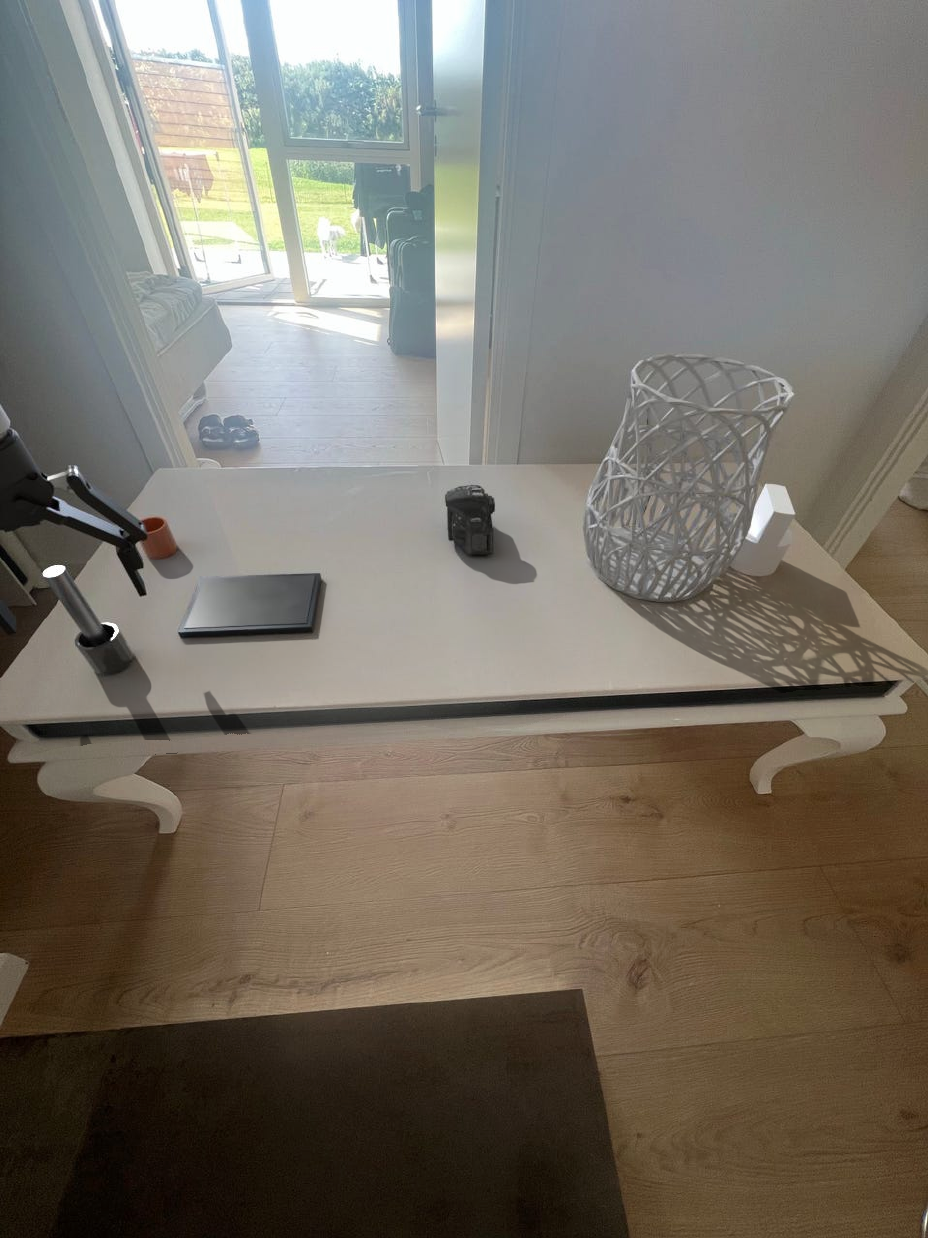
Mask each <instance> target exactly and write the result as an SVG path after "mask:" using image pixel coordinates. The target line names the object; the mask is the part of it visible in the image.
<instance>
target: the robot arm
mask: <svg viewBox="0 0 928 1238" xmlns="http://www.w3.org/2000/svg"><path fill="white" fill-rule="evenodd" d="M56 489H60V490H62V491H65V492H66V493H67V494H69V495H76V496H77V497H78V499H80V500H81V501H82V502H83V503H85V504H86V505H87V506H89V507H90V508H91V509H92V510H94V511H96V512H97V513H99V514H100V515H102V516H103V517H104V518H106V519H107V520H109V521H110V522H111V523H110V522H108V521H106V520H104V519H101V518H99V517H96V516H95V515H92V514H90V513H88V512H85V511H82V510H81V509H78V508H76V507H74V506H71V505H70V504H68V503H67V502H66V501H65V500H63V499H60V498H58V497H56V496H54V494H55V490H56ZM43 521H47V522H50V523H51V524H54V525H57V526H65V527H68V528H70V529H73V530H75V531H77V532H79V533H82V534H85V535H87V536H90V537H92V538H94V539H97V540H99V541H102V542H104V543H107V544H109V545H111V546H114V547H115V553H116V556H117V558H118V559H119V561H120V563H121V565H122V567H123V568H124V571H125V572H126V574H127V576H128V578H129V579H130V581H131V583H132V585H133V587H134V588H135V590H136V592H137V594H138V596H139V597H140V598H141V597H145V596H147V594H148V593H147V590H146V589H147V588H146V585H145V582H144V580H143V578H142V576H141V574H140V571H139V570H143V569H144V566H145V565H144V564H145V563H144V560H143V557H142V554H141V553H140V551H139V549H138V547H137V544H138V543H140V542H139V541H145V540H146V539H147V537H148V536H147V532H146V528H145V524H144V523H143V522H141V521H140V519H139V518H137V516H135V515H134V514H132V513H131V512H130V511H128V510H127V509H125V508H124V507H123V506H121V505H120V504H119V503H117V502H116V501H115V500H114V499H112V498H111V497H109V496H108V495H106V494H105V493H104V492H103V491H101V490H100V489H98V488H97V487H96V486H94V485H93V484H92V483H90V482H89V481H88V479H87V478H86V476H85V475H84V473H83V472H82V471H81V469H80V468H79V467H78V466H77V465H74V464H68V465H67V466H66V467H65V471H62V472H59V473H55V474H52V475H48V474H45V473H44V472H43V471H42V470H41V469H40V468H39V467H38V465H37V463H36V462H35V459H33V456H32V455H31V453H30V451H29V450H28V449H27V447H26V445H25V443H24V441H23V440H22V438H21V437H20V435H19V433H18V432H17V431H16V430H15V429H13V428H11V420H10V418H9V416H8V415H7V413H6V411H5V410H4V408H3V407H2V404H0V531H4V533H9V532H13V531H16V530H18V529H20V528H23V527H25V528H26V527H35V526H40V525H42V522H43ZM0 628H1V629H2V630H3V631H4V632H5V634H6V635H7V636H12V635H14V634H17V617H16V615H14V613H13V612H12V610H10V609H9V607H8V606H7V605H6V604H5V602H4V601H3V599H2V598H0Z"/></svg>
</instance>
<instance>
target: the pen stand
mask: <svg viewBox="0 0 928 1238" xmlns="http://www.w3.org/2000/svg"><path fill="white" fill-rule="evenodd" d="M100 623H101V624H102V626H103V628H104V629H105V631H106V632H107V634H108V635H109V637H110V638H111V639H110V640H109V641H108V642H106V643H104V644H102V645H100V646H96V647H92V646H91V645H90V643H89V642H88V640H87V639H86V638H85V636H84V635H83V633H82V632H81V631H80V632H79V633H77V635H76V637H75V638H74V646H75V647H76V648H77V650H78V651H79V652H80V654H81V655H82V657H83V658H84V660H85V661H86V662H87V663H88V665H89V667H90V668H91V669H92V670H93V672H94V673H95V674H97V675H99V676H102V677H106V676H114V675H118V674H119V673H121V672H124V671H125V670H126V669H128V668H129V667H130V666H131V664H132V663H133V661H134V659H135V655H134V652H133V650H132V648H131V647H130V644H129V643H128V641H127V640H126V638H125V637H124V635H123V633H122V632H121V630H120V628H119V627H118V626H117V625H116V624H115V623H113V622H108V621H106V622H100Z"/></svg>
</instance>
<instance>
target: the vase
mask: <svg viewBox="0 0 928 1238" xmlns="http://www.w3.org/2000/svg"><path fill="white" fill-rule="evenodd" d="M685 359H688V360H695V361H693V362H689V361H688V360H685ZM662 360H663V361H662ZM654 361H662V362H661V363H660V364H657V363H655V362H654ZM674 361H675V362H676V363H679V364H681V365H682V366H684V367H682V368H681V369H679V370H678V371H677V372H675V373H674V374H673V375H671V376H669V375H668V374H667V372H666V371H665V370H664V369H663V368H664V367H665V366H667V365H669V364H671V363H672V362H674ZM708 363H709V364H711V365H712V366H714V367H715V368H717V369H718V370H719V371H718V372H716V373H714V374H713V375H710V376H708V377H707V378H705V379H703V377H702V376H701V375H700V374H699V373H698V371H697V370H696V369H695V367H698V366H702V365H704V364H708ZM721 363H723V364H727V365H732V366H736V367H732V368H728V369H725V367H724V366H723V365H722V364H721ZM647 366H650V367H652V368H654V369H652V370H651V371H650V372H649V373H648V374H647V375H646V377H645V378H644V380H643V379H642V377H641V376H640V375H641V374H642V373H643V371H644V370H645V369H646V367H647ZM688 371H689V373H690V374H692V376H693V377H694V378H695V379H696V380H697V382H698V384H697V385H696V386H695V387H694V388H692V389H691V390H690V391H689V392H687V393H686V394H685V395H683V396H682V397H681V398H680V399H679V397H678V393H677V391H676V389H675V388H676V387H675V385H674V381H675V380H677V379H678V378H679V377H681V376H682V375H683V374H684V373H686V372H688ZM743 371H746V372H747V373H748V375H749V376H750V377H751V378H752V379H753V381H751V382H749V383H746V384H744V385H742V386H740V387H738V386H737V384H736V381H735V380H734V378H733V375H732V373H737V372H743ZM657 373H659V375H660V376H661V377H662V378H663V379H664V381H665V382H664V383H663V384H662V385H661V386H660V387H659V388H658V390H656V389H654V388H653V387H650V385H648V383H649V382H650V381H651V380H652V379H653V378H654V377H655V375H656V374H657ZM757 373H759V374H760V375H763V376H765V377H767V378H763V379H761V378H760V377H759V375H758V374H757ZM723 375H725V378H726V379H727V382H728V384H729V385H730V387H731V389H732V391H730V392H729V393H728V394H727V395H725V396H724V397H723V398H721V399H720V400H718V402H716V403H715V404H713V400H712V399H711V395H710V393H709V391H708V388H707V385H706V384H707V383H709V382H711V381H713V380H715V379H717V378H719V377H722V376H723ZM770 383H771V384H772V383H773V384H774V387H775V389H776V392H777V394H776V395H774V396H772V397H771V398H768V399H766V398H765V392H764V384H770ZM667 387H668V388H669V390H670V393H671V396H672V397H670V396H668V395H666V394H664V393H663V392H664V391H665V389H666V388H667ZM755 387H757V390H758V394H759V400H760V403H759V404H758V405H757V406H756V407H754V408H753V409H752V410H751V409H743V405H742V401H741V397H740V393H741V392H743V391H746V390H749V389H751V388H755ZM700 388H701V391H702V393H703V396H704V399H705V402H706V404H707V406H706V405H702V404H699V403H695V402H692V401H687V400H688V399H689V398H690V397H691V396H693V394H695V393H696V392H697V391H698V390H700ZM782 388H783V389H784V390H785V392H783V389H782ZM637 389H638V390H637ZM649 394H650V395H651V397H650V395H649ZM641 395H642V397H643V402H642V403H641V404H639V405H638V400H639V398H640V396H641ZM734 396H735V397H734ZM732 397H734V399H735V403H736V409H735V408H722V407H721V406H722V405H724V404H725V403H726V402H727V401H729V400H730V399H731V398H732ZM794 397H795V393H794V387H793V386H792V385H791V384H790V383H789V382H788V381H787V380H786V379H785V378H782V377H779V376H777V375H775V374H774V373H773V372H771V371H768V370H766V369H764V368H762V367H760V366H757V365H750V364H745V363H743V362H741V361H739V360H735V359H731V358H725V357H721V356H712V357H711V356H708V355H704V354H703V353H681V354H678V355H672V354H659V355H653V356H651V357H649V358H647V359H641V360H638V362H637V363H636V364H635V366H634V367H633V368H632V370H631V373H630V387H629V391H628V393H627V398H626V402H625V403H626V404H625V408H624V413H623V419H622V420H621V423H620V425H619V427H618V430H617V432H616V433H615V436H614V438H613V440H612V443H611V444H610V447H609V449H608V451H607V453H606V455H605V456H604V458H603V460H602V461H601V464H600V466H599V468H598V470H597V472H596V474H595V477H594V479H593V481H592V483H591V485H590V488H589V490H588V495H587V499H586V502H585V504H584V505H585V506H584V511H583V518H582V523H583V524H582V532H583V539H584V543H585V544H584V546H585V551H586V555H587V563H588V564H589V566H590V567H591V569H592V571H593V572H594V573H595V574H596V576H597V578H598V579H600V580H601V581H602V582H603V583H605V584H606V585H607V586H609V587H611V589H613V590H615V591H618V592H620V593H623V594H625V595H627V596H629V597H631V598H633V599H635V600H642V601H643V600H644V601H651V602H658V603H675V602H681V601H686V600H689V599H691V598H694V597H695V596H697V595H698V594H700V593H701V592H703V591H704V590H705V589H706V588H707V587H709V586H710V585H711V584H712V583H714V582H715V581H716V580H717V579H718V578H719V577H721V576H722V574H723V573H724V572H726V570H727V569H728V568H729V567H730V566H729V565H730V564H731V562H732V561H733V560H734V559H735V557H736V555H737V553H738V552H739V550H740V548H741V546H742V544H743V542H744V540H745V538H746V537H747V534H748V531H749V529H750V527H751V522H752V517H753V512H754V507H755V505H756V503H757V499H758V498H757V496H758V486H759V483H760V477H761V473H762V470H763V466H764V463H765V461H766V460H765V459H766V456H767V453H768V450H769V448H770V444H771V442H772V439H773V437H774V434H775V431H776V428H777V426H778V425H779V423H780V422H781V420H782V419H783V418H784V416H785V414H786V413H787V412H788V409H789V407H790V404H791V402H792V400H793V398H794ZM784 398H785V400H784ZM775 402H776V405H774V406H769V407H766V406H768V405H770V404H773V403H775ZM664 403H668V404H669V406H671V409H670V410H669V411H668V412H667V413H666V414H665V415H664V416H663V417H662V419H661V417H660V415H659V413H658V410H657V408H656V405H655V404H664ZM681 406H682V407H687V408H691V409H694V410H692V411H688V412H686V413H685V412H684V411H683V410H682V408H681ZM720 407H721V408H720ZM674 412H676V413H677V414H676V415H675V416H674V417H671V418H669V417H670V416H671V415H672V414H673V413H674ZM645 413H646V425H640V421H641V419H642V418H643V416H644V414H645ZM767 413H769V414H768V415H766V414H767ZM725 414H727V415H736V416H734V417H731V418H728V417H726V416H725ZM652 415H653V417H654V418H653V419H654V420H655V421H656V423H657V424H656V425H653V423H652V421H653V420H652ZM700 415H702V416H700ZM696 416H700V417H699V419H698V420H697V421H696V422H695V423H694V421H693V420H692V419H691V418H692V417H696ZM709 416H710V422H711V427H709V428H707V429H706V430H703V429H699V428H698V427H699V426H700V425H701V424H702V423H703V422H704V421H705V420H706V419H707V418H708V417H709ZM751 417H753V418H754V419H756V420H757V421H759V422H758V423H757V424H755V425H754V426H752V427H751V428H749V429H747V430H746V421H747V420H748V419H750V418H751ZM633 418H634V421H633V422H632V423H631V421H632V420H633ZM717 420H718V421H720V422H719V423H717ZM676 422H678V423H679V425H678V424H673V423H676ZM630 423H631V425H630V426H629V424H630ZM685 423H686V424H687V426H688V427H689V428H687V427H685ZM735 423H736V424H735ZM726 427H727V428H728V429H729V431H728V432H727V433H726V434H724V436H719V432H718V430H721V429H723V428H726ZM738 428H739V430H738ZM758 428H760V429H759V436H758V437H757V439H756V440H755V441H754V443H753V444H752V446H751V447H750V449H749V450H748V449H747V437H748V436H750V435H751V434H752V433H754V432H755V431H756V430H757V429H758ZM658 431H659V432H660V433H658V434H657V435H655V434H656V433H657V432H658ZM644 433H645V434H644ZM678 433H679V437H680V438H679V437H677V436H676V435H675V434H678ZM642 434H644V435H642ZM690 435H691V436H693V437H691V438H688V437H689V436H690ZM732 435H733V436H734V438H735V439H734V440H731V439H729V438H730V437H732ZM660 438H662V440H663V443H664V446H665V450H664V451H663V452H661V453H660V454H659V455H657V452H656V450H655V448H654V446H653V444H652V442H655V440H658V439H660ZM669 438H670V439H672V440H673V441H674V442H675V444H673V446H671V443H670V440H669ZM633 439H635V440H636V441H635V443H634V444H633V445H632V446H631V448H629V450H628V451H627V452H626V453H625V455H624V451H623V449H624V447H625V446H626V445H627V444H629V443H630V442H631V441H633ZM709 441H714V446H713V445H712V444H711V443H710V442H709ZM697 442H699V445H700V447H701V450H702V451H703V455H704V456H703V457H702V458H700V459H698V460H697V461H695V462H694V459H693V457H692V455H691V453H690V451H689V449H688V448H690V447H691V446H693V445H694V444H695V443H697ZM723 445H724V446H725V448H723V449H722V446H723ZM644 447H645V453H644V461H643V462H644V463H643V466H642V449H643V448H644ZM650 453H651V456H652V458H653V461H651V462H650V464H649V458H650ZM679 454H680V471H679V470H676V467H675V461H674V458H675V457H676V456H679ZM727 454H732V456H733V458H734V461H735V462H736V464H737V466H738V468H737V469H736V470H735V471H733V472H732V473H731V474H730V475H728V474H727V471H726V468H725V466H724V464H723V462H722V458H723V457H724V456H726V455H727ZM739 454H741V458H740V455H739ZM755 455H756V457H755ZM665 456H666V457H665ZM664 457H665V459H663V461H661V462H660V460H661V459H662V458H664ZM686 458H687V461H688V463H689V467H688V468H687V469H686ZM634 460H636V467H630V466H631V464H633V462H634ZM627 461H628V462H627ZM659 462H660V463H659ZM702 463H703V465H702V467H701V468H700V469H699V471H698V473H697V472H696V467H698V466H700V465H701V464H702ZM667 464H669V468H665V467H666V466H667ZM708 471H709V473H710V477H711V481H708V480H707V479H705V478H703V476H704V475H706V473H707V472H708ZM720 472H721V476H722V477H723V481H722V482H721V483H720V481H721V478H720ZM750 472H751V477H750ZM661 474H670V477H671V481H670V482H668V483H667V482H666V481H665V479H664V478H663V477H662V475H661ZM740 478H741V482H740V486H736V485H737V484H738V482H739V480H740ZM614 481H618V482H617V485H616V487H615V491H614V484H615V483H614ZM683 483H688V485H686V487H685V488H682V487H683ZM634 484H635V486H634ZM698 484H702V485H704V486H707V487H708V488H710V489H711V490H707V489H706V490H704V489H700V488H699V486H698ZM645 487H647V488H648V490H647V491H646V492H645ZM660 488H661V489H660ZM629 492H630V495H629V496H628V497H626V496H627V495H628V493H629ZM735 493H736V494H735ZM697 495H698V496H697ZM653 496H655V497H654V498H653V501H652V503H651V505H650V508H649V515H648V516H649V517H648V523H647V524H646V523H645V519H644V517H645V514H646V510H647V508H648V505H649V502H650V499H651V497H653ZM671 498H672V502H671ZM601 499H602V501H601ZM659 499H660V500H661V501H662V502H663V503H664V504H663V506H662V507H661V509H660V513H659V515H658V517H656V518H654V517H655V515H656V510H657V505H658V501H659ZM688 499H690V500H689V501H687V500H688ZM600 501H601V505H600ZM733 503H734V504H735V506H736V507H737V509H738V510H737V512H735V513H734V512H733V513H731V508H730V506H731V505H732V504H733ZM697 504H699V511H698V513H697V514H696V516H695V517H694V519H693V521H692V523H691V525H690V527H689V529H688V528H687V525H686V524H687V523H688V520H689V518H690V516H691V513H692V510H693V508H694V507H695V506H696V505H697ZM599 505H600V506H599ZM627 509H628V510H627ZM626 510H627V515H626V519H625V511H626ZM684 510H686V511H685V513H684V515H683V517H682V515H681V512H682V511H684ZM705 510H707V511H706V512H707V513H706V515H705V517H704V520H703V521H702V522H701V520H702V516H703V514H704V512H705ZM617 511H618V512H617ZM731 518H732V519H731ZM618 520H619V523H620V524H619V525H620V526H615V524H616V523H617V521H618ZM668 520H669V521H668ZM714 521H715V525H714V526H713V527H712V529H711V530H710V532H709V533H708V534H707V532H708V530H709V528H710V527H711V526H712V524H713V523H714ZM667 522H668V523H667ZM700 522H701V523H700ZM666 523H667V526H666V530H663V528H664V526H665V524H666ZM698 524H699V525H698ZM672 528H673V533H670V532H671V529H672ZM721 529H722V532H721ZM682 534H683V535H682ZM706 534H707V536H706ZM714 535H715V536H714ZM705 536H706V537H705ZM713 537H714V541H713V542H712V544H711V545H710V546H709V547H708V548H706V547H707V545H708V544H709V543H710V541H711V540H712V538H713ZM704 538H705V539H704ZM703 540H704V542H703ZM702 542H703V543H702ZM701 544H702V545H701ZM700 546H701V547H700ZM699 547H700V548H699ZM732 549H733V550H732ZM709 555H711V556H710V557H709V558H708V559H706V558H707V556H709Z"/></svg>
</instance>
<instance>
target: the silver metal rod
mask: <svg viewBox="0 0 928 1238" xmlns="http://www.w3.org/2000/svg"><path fill="white" fill-rule="evenodd" d="M42 577H43V578H44V580H45V581H46V583H47V584H48V585H49V587H50V588H51V589H52V591H53V592H54V594H55V596H56V597H57V598H58V600H59V601H60V602H61V604H62V606H63V607H64V609H65V610H66V611H67V613H68V614H69V616H70V617H71V619H72V620H73V621H74V623H75V625H76V626H77V627H78V629H79V631H80V632H82V633H83V635H84V636H85V638H86V639H87V640H88V642H89V643H90V645H91V646H92V647H96V646H100V645H102V644H104V643H106V642H108V641H109V640H110V639H111V638H110V637H109V635H108V634H107V632H106V631H105V629H104V628H103V626H102V624H101V623H102V622H101V621H100V620H99V618H98V616H97V614H96V613H95V612H94V610H93V609H92V607H91V606H90V604H89V602H88V601H87V599H86V597H85V596H84V595H83V593H82V591H81V590H80V588H79V587H78V585H77V584H76V582H75V581H74V579H73V577H72V576H71V574H70V573H69V571H68V569H67V568H66V567H65V566H64V565H61V564H57V565H56V564H55V565H52V566H50V567H47V568H46V569H44V570H43V572H42Z"/></svg>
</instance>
